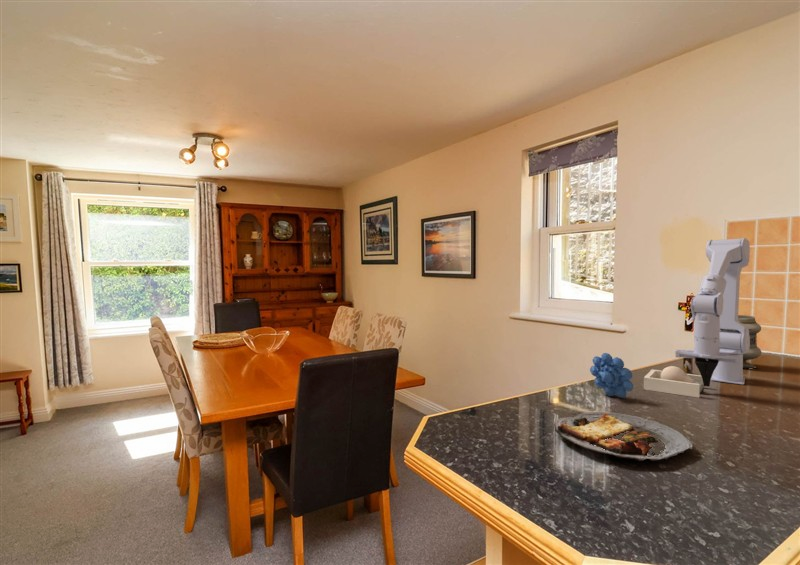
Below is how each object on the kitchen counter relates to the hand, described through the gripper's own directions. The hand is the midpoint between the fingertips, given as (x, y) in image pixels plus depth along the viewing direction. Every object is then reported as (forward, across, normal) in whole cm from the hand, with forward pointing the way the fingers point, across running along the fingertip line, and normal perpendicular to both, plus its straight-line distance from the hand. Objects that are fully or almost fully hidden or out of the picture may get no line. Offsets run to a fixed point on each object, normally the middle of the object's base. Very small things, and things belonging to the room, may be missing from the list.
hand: (706, 385), depth 116 cm
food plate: (+3, -11, -50) cm, 51 cm away
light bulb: (+2, -6, 0) cm, 6 cm away
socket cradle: (+2, -7, 0) cm, 8 cm away
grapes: (+2, -20, -20) cm, 29 cm away
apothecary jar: (+2, +6, +45) cm, 45 cm away
